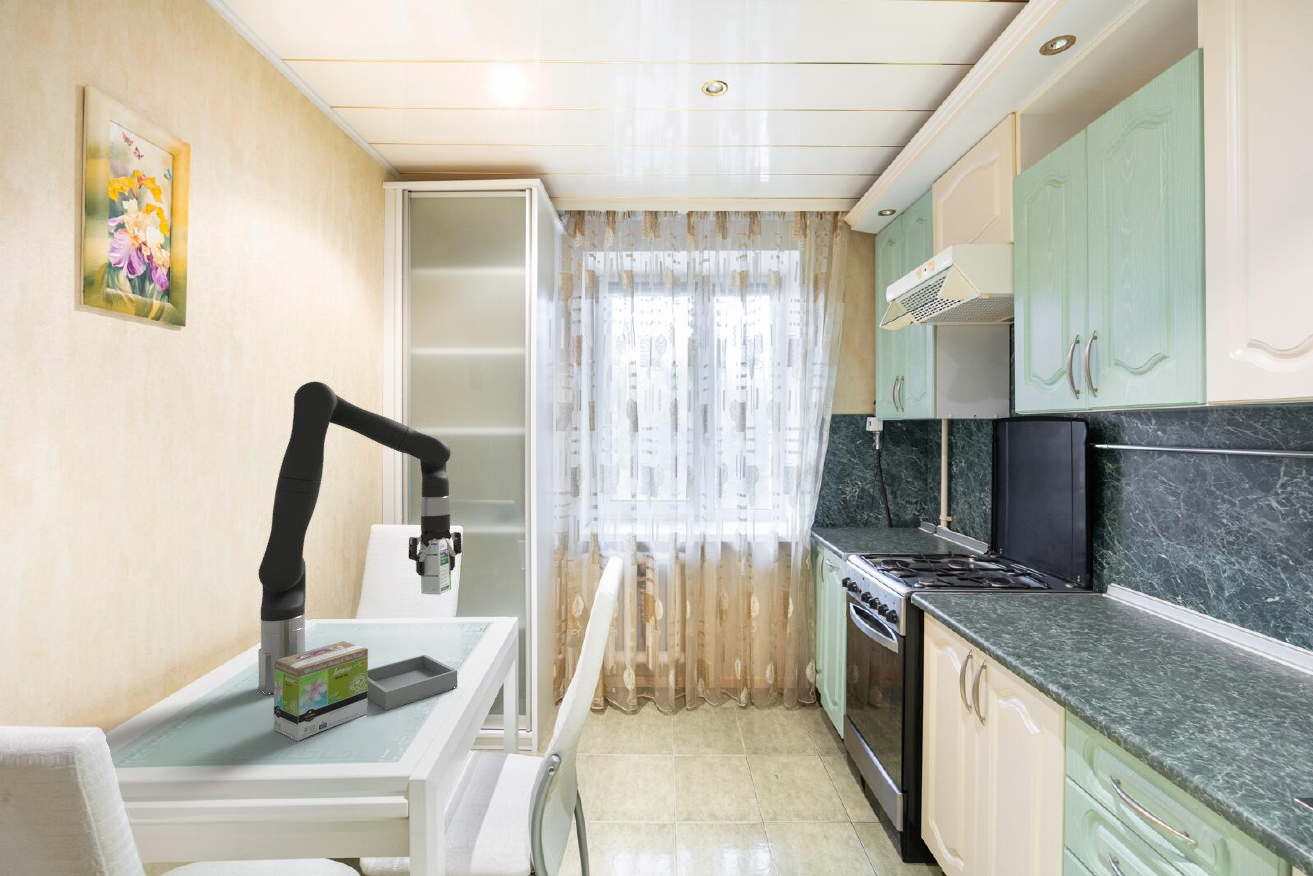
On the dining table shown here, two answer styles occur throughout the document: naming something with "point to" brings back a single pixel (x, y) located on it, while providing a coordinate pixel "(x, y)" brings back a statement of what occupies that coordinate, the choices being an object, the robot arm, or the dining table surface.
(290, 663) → the tea box
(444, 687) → the tray
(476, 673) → the dining table surface
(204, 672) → the dining table surface
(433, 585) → the syrup box
